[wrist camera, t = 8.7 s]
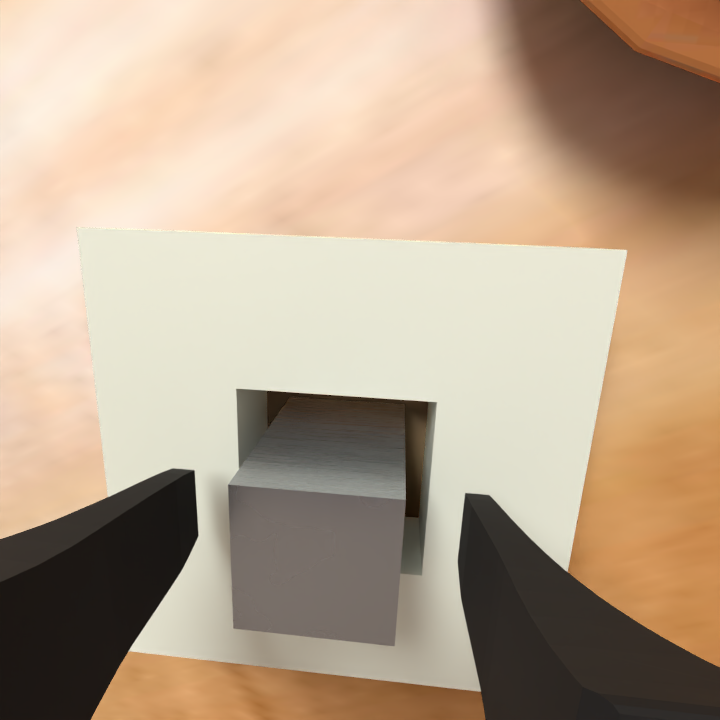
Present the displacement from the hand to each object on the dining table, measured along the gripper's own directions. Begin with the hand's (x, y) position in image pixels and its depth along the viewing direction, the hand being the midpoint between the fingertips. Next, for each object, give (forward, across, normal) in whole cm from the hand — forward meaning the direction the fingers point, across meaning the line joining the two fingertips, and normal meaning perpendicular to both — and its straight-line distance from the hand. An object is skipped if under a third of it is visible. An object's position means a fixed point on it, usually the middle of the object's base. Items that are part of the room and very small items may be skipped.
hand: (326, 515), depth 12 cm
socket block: (+4, 0, 0) cm, 4 cm away
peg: (+4, 0, 0) cm, 5 cm away
